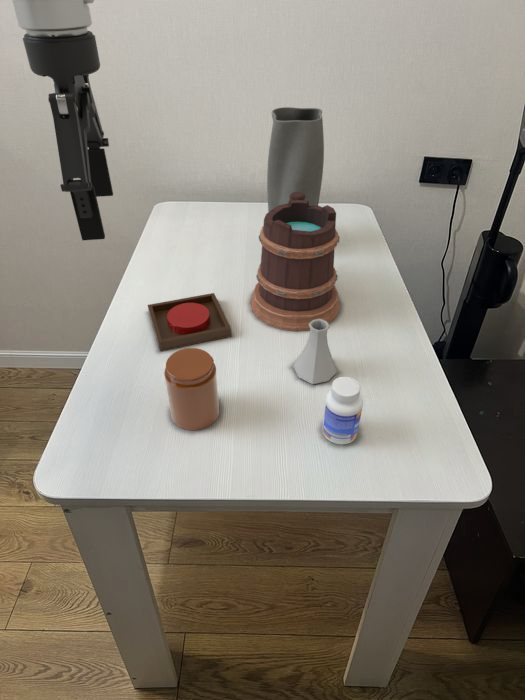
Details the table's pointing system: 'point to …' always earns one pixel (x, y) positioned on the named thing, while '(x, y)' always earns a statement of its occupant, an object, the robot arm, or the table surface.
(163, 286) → the table surface
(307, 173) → the vase
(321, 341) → the flask
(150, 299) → the table surface
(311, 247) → the mug
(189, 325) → the lid
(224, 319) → the tray
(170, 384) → the jar
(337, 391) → the pill bottle
